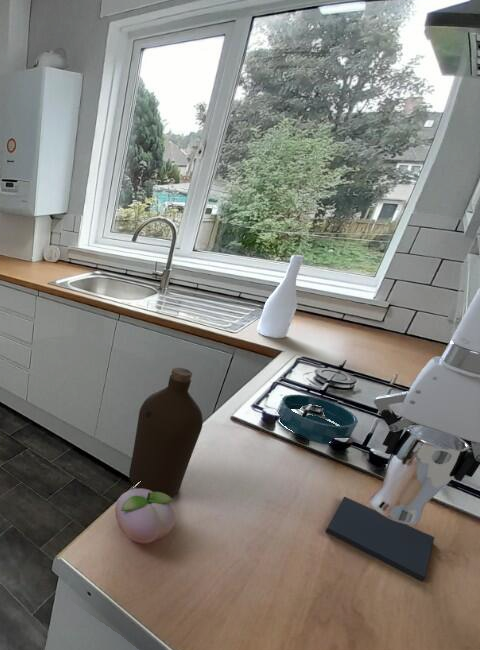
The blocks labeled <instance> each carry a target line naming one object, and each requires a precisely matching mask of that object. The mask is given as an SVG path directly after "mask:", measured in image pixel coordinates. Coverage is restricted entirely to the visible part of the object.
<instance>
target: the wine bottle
mask: <svg viewBox="0 0 480 650" xmlns="http://www.w3.org/2000/svg"><path fill="white" fill-rule="evenodd" d="M304 259H305V258H304V255H301V254H292V256H291V257H290V258H289V265H288V267H287V270H286V271H285V275H284V277H283V279H282V280H281V281H280V283H279V284H278V286H277V287H276V288H275V289H274V291H273V292H272V293H271V295H270V296H269V297H268V298H267V300H266V301H265V303H264V306H263V309H262V313H261V315H260V318H259V321H258V325H257V327H256V331H257V333H258V334H260V335H262V336H265V337H268V338H271V339H282V338H285V337H287V335H288V333H289V330H290V327H291V324H292V322H293V320H294V317H295V314H296V310H297V308H298V298H297V297H298V296H297V279H298V274H299V271H300V270H301V269H300V268H301V265H302V263H303V262H304Z"/></svg>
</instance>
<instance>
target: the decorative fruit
mask: <svg viewBox="0 0 480 650" xmlns="http://www.w3.org/2000/svg"><path fill="white" fill-rule="evenodd" d="M173 502H174V499H173V497H170V496H168V495H166V494H164V493H161V492H152V491H150V490H147V489H141V488H138V489H137V488H133V489H130V490H128V491H125V492H124V493H122V494H121V495H120V496H119V497H118V498H117V501H116V503H115V508H114V513H115V519H116V522H117V526H118V528H119V529H120V532H122V535H124V536H125V537H126V538H127V539H129V540H130V541H133V542H135V543H138V544H150V543H152V542H154V541H158V540H161V539H162V538H163V537H165V536H166V535H167V534H169V532H170V531H171V530H172V529H173V528H174V525H175V522H176V518H175V512H174V510H173V507H172V506H171V504H170V503H173Z"/></svg>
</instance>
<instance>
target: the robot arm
mask: <svg viewBox="0 0 480 650" xmlns="http://www.w3.org/2000/svg"><path fill="white" fill-rule="evenodd" d="M373 403H374V405H375V408H376V409H377V410H378V412H379V413H380V417H381V418H382V419H383V421H384V422H385V424H386V425H387V426H388V430H389V431H388V432H387V434H386V436H385V438H384V440H383V441H382V444H381V445H382V446H385V447H386V449H385V451H384V454H386V455H391V453H392V452H393V450H394V448H395V446H396V444H397V443H398V441H399V439H400V438H401V436H402V435H403V434H404V432H405V429H407V427H408V426H411V425H422V426H425V427H428V428H431V429H434V430H437V431H440V432H443V433H446V434H449V435H453V436H456V437H459V438H460V439H462V440H464V441H465V440H466V441H468V442H470V444H471V449H472V450H470V451H469V450H468V452H467V454H466V456H465V458H464V460H463V462H462V464H461V466H460V468H459V469H458V471H457V473H456V474H455V475H454V477H453V479H455V481H458V482H462V481H463V479H464V478H465V476H467V477H469V478H472V477H473V476H474V475H475V473H476V471H477V470H478V469H479V467H480V286H479V288H478V289H477V291H476V293H475V295H474V297H472V300H471V302H470V304H469V306H468V308H467V309H466V311H465V313H464V315H463V317H462V318H461V320H460V322H459V324H458V325H457V328H456V329H455V331H454V333H453V334H452V336H451V338H450V340H449V342H448V343H447V346H446V347H445V350H444V351H443V353H442V355H441V356H433V357H432V358H431V359H430V360H429V361H428V362H427V363H426V365H425V366H424V367H423V368H422V369H421V370H420V372H419V374H418V375H417V376H416V378H415V379H414V381H413V383H412V384H411V386H410V387H409V389H408V390H406V391H401V392H397V393H391V394H385V395H380V396H376V397H375V398H374V400H373ZM395 404H401V405H400V408H399V411H398V414H399V416H397V415H396V413H395V412H394V410H393V409H392V408H391V405H395Z"/></svg>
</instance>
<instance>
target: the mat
mask: <svg viewBox="0 0 480 650" xmlns="http://www.w3.org/2000/svg"><path fill="white" fill-rule="evenodd" d="M324 532H325V533H326V534H329V535H331V536H333V537H335V538H336V539H339V540H341V541H342V542H345V543H346V544H348V545H350V546H352V547H354V548H356V549H358V550H359V551H362V552H363V553H366V554H367V555H369V556H372V557H373V558H375V559H377V560H378V561H381V562H384V564H385V563H386V564H387V565H389V566H391V567H393V568H395V569H396V570H399V571H401V572H402V573H405V574H406V575H408V576H410V577H413V578H414V579H416V580H418V581H420V582H423V581H424V580H425V578H426V575H427V571H428V567H429V562H430V558H431V554H432V550H433V545H434V540H435V537H434V536H433V535H430V534H428V533H427V532H423V531H421V530H420V529H417V528H415V527H413V526H412V525H405V524H400V523H397V522H394V521H392V520H390V519H388V518H386V517H384V516H382V515H381V514H379V513H378V512H376V511H375V510H374V509H373V508H372V507H369V506H366V505H365V504H362V503H360V502H358V501H355V500H353V499H351V498H349V497H346V496H343V498H342V499H341V501H340V503H339V505H338V507H337V508H336V511H335V512H334V514H333V516H332V518H331V519H330V522H329V523H328V525H327V527H326V529H325V531H324Z"/></svg>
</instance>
